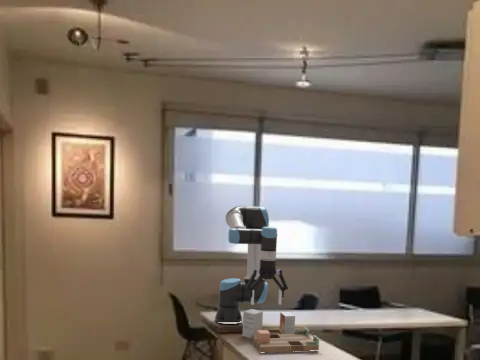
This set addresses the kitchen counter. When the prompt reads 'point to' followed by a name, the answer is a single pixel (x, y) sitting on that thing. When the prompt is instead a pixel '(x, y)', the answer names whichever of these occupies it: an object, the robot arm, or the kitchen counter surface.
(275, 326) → the kitchen counter surface
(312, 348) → the tray
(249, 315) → the supplement box
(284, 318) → the small box
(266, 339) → the block
